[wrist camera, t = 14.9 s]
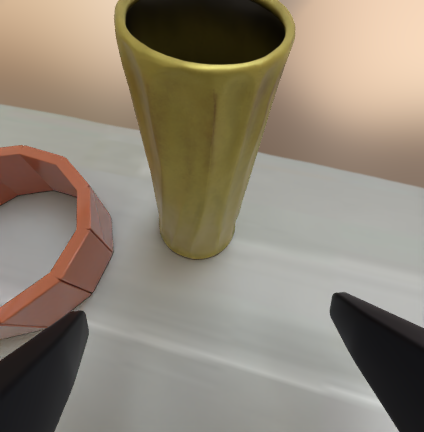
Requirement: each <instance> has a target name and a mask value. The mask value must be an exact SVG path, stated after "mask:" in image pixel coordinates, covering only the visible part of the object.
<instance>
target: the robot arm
mask: <svg viewBox="0 0 424 432" xmlns="http://www.w3.org/2000/svg"><path fill="white" fill-rule="evenodd" d="M330 316H331V319H332V321H333V322H334V324H335V326H336V328H337V330H338V332H339V334H340V336H341V338H342V340H343V342H344V343H345V345H346V347H347V349H348V351H349V353H350V355H351V356H352V358H353V360H354V361H355V363H356V365H357V366H358V368H359V369H360V371H361V372H362V374H363V376H364V377H365V379H366V380H367V382H368V383H369V385H370V387H371V388H372V390H373V391H374V393H375V394H376V396H377V397H378V399H379V401H380V402H381V404H382V405H383V407H384V408H385V410H386V412H387V413H388V415H389V416H390V418H391V419H392V421H393V422H394V424H395V426H396V427H397V429H398V430H399V432H424V328H422V327H420V326H418V325H415V324H413V323H411V322H409V321H407V320H405V319H402V318H400V317H398V316H396V315H394V314H391V313H389V312H387V311H385V310H383V309H381V308H378V307H376V306H374V305H372V304H370V303H367V302H365V301H363V300H361V299H359V298H356V297H354V296H352V295H350V294H348V293H345V292H340V293H334V294H333V296H332V301H331V306H330ZM88 335H89V329H88V324H87V319H86V314H85V312H84V311H72V312H70V313H68V314H67V315H65V316H64V317H62V318H61V319H59V320H58V321H57V322H55V323H54V324H52V325H51V326H49V327H48V328H47V329H45V330H44V331H42V332H41V333H39V334H38V335H36V336H35V337H34V338H32V339H31V340H29V341H28V342H26V343H25V344H24V345H22V346H21V347H19V348H18V349H16V350H15V351H14V352H12V353H11V354H9V355H8V356H6V357H5V358H4V359H2V360H1V361H0V432H54V431H55V429H56V426H57V424H58V422H59V419H60V417H61V414H62V412H63V410H64V407H65V405H66V402H67V400H68V397H69V395H70V393H71V390H72V387H73V385H74V382H75V379H76V376H77V372H78V369H79V366H80V362H81V359H82V356H83V352H84V349H85V346H86V343H87V339H88Z"/></svg>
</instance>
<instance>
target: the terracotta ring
mask: <svg viewBox="0 0 424 432" xmlns="http://www.w3.org/2000/svg"><path fill="white" fill-rule="evenodd" d="M51 190H55V191H59V192H62V193H65V194H69V195H72V196H75V197H77V229H76V231H75V233H74V234H73V236H72V238H71V239H70V241H69V242H68V244H67V246H66V247H65V249H64V251H63V252H62V254H61V255H60V257H59V259H58V260H57V262H56V264H55V265H54V267H53V268H52V270H51V272H50V273H49V274H47V275H46V276H44V277H43V278H42V279H40V280H39V281H37V282H36V283H35V284H33V285H32V286H30V287H29V288H27V289H26V290H25V291H23V292H22V293H20V294H19V295H17V296H16V297H15V298H13V299H12V300H10V301H9V302H7V303H6V304H5V305H3V306H2V307H0V340H1V339H5V338H9V337H13V336H17V335H22V334H26V333H30V332H34V331H38V330H43V329H47V328H48V327H49V326H51V325H52V324H54V323H55V322H57V321H58V320H59V319H61V318H62V317H63V316H65V315H66V314H67V313H68V312H70V311H71V310H72V309H74V308H75V307H76V306H77V305H79V304H80V303H81V302H82V301H84V300H85V299H86V298H88V297H89V296H90V295H91V293H93V291H94V289H95V288H96V286H97V284H98V282H99V280H100V278H101V276H102V274H103V272H104V270H105V268H106V266H107V264H108V262H109V260H110V258H111V256H112V252H113V237H112V221H111V217H110V214H109V213H108V211H107V210H106V209H105V207H104V206H103V204H102V203H101V201H100V200H99V198H98V197H97V195H96V194H95V193H94V191H93V190H92V188H91V187H90V185H89V184H88V183H87V182H86V181H85V179H84V178H83V177H82V176H81V175H80V174H79V172H78V171H77V170H76V169H75V168H74V167H73V165H72V164H71V163H70V162H69V161H68V160H67V158H65V157H63V156H60V155H56V154H53V153H49V152H46V151H43V150H39V149H36V148H32V147H29V146H23V145H18V146H10V147H1V148H0V205H2V204H4V203H5V202H7V201H9V200H11V199H13V198H14V197H16V196H18V195H24V194H30V193H37V192H44V191H51ZM90 292H91V293H90Z"/></svg>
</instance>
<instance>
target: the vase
mask: <svg viewBox="0 0 424 432" xmlns="http://www.w3.org/2000/svg"><path fill="white" fill-rule="evenodd" d="M114 23H115V32H116V39H117V44H118V49H119V53H120V57H121V62H122V66H123V69H124V72H125V76H126V79H127V83H128V86H129V90H130V93H131V98H132V101H133V106H134V110H135V113H136V117H137V121H138V125H139V128H140V133H141V137H142V141H143V145H144V149H145V153H146V156H147V160H148V164H149V168H150V171H151V176H152V181H153V187H154V192H155V197H156V202H157V207H158V211H159V227H160V234H161V236H162V238H163V240H164V242H165V243H166V245H167V246H168V247H169V248H170V249H171V250H172V251H174V252H175V253H177V254H179V255H181V256H184V257H187V258H191V259H204V258H208V257H212V256H214V255H216V254H218V253H220V252H221V251H222V250H223V249H225V248H226V246H227V245H228V244H229V243H230V241H231V239H232V237H233V234H234V231H235V221H236V219H237V217H238V214H239V211H240V208H241V204H242V200H243V197H244V194H245V191H246V188H247V185H248V181H249V178H250V175H251V172H252V168H253V165H254V162H255V159H256V155H257V152H258V149H259V146H260V142H261V139H262V136H263V133H264V129H265V126H266V123H267V119H268V116H269V113H270V110H271V106H272V103H273V100H274V97H275V94H276V91H277V88H278V84H279V81H280V78H281V76H282V73H283V70H284V66H285V64H286V61H287V58H288V56H289V53H290V51H291V47H292V45H293V42H294V39H295V23H294V21H293V18H292V16H291V14H290V12H289V11H288V10H287V8H286V7H285V6H284V5H283V4H281V3H280V2H279V1H278V0H119V1H118V2H117V4H116V7H115V15H114Z"/></svg>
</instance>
